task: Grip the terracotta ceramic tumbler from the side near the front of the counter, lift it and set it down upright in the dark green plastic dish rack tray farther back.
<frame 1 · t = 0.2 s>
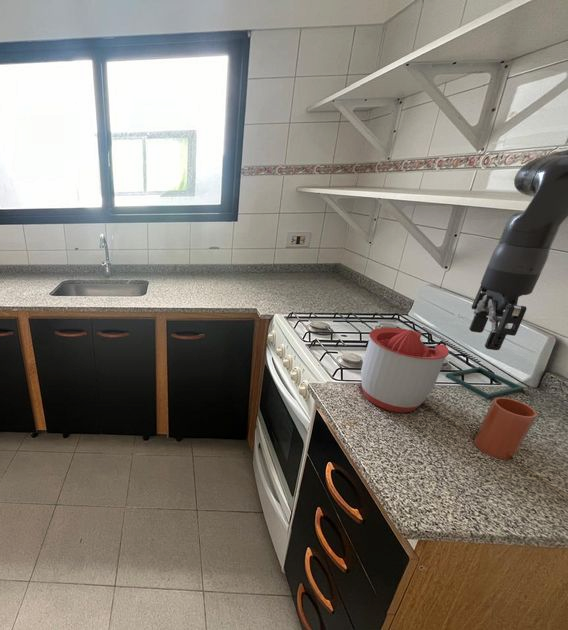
hand: (482, 339, 74), 21 cm above the counter, tool pointing down, fingers open, 8 cm apart
rack: (480, 388, 93), on the counter
citrus juicer: (390, 399, 89), on the counter
tumbler: (493, 448, 73), on the counter
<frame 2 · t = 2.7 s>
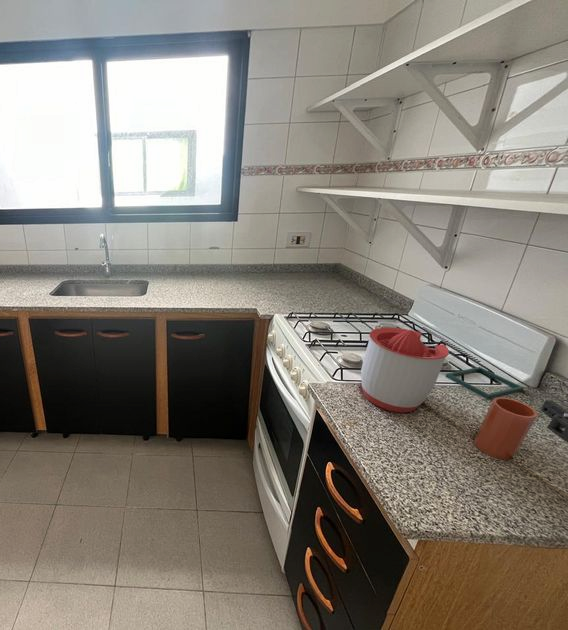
nothing on the counter moved.
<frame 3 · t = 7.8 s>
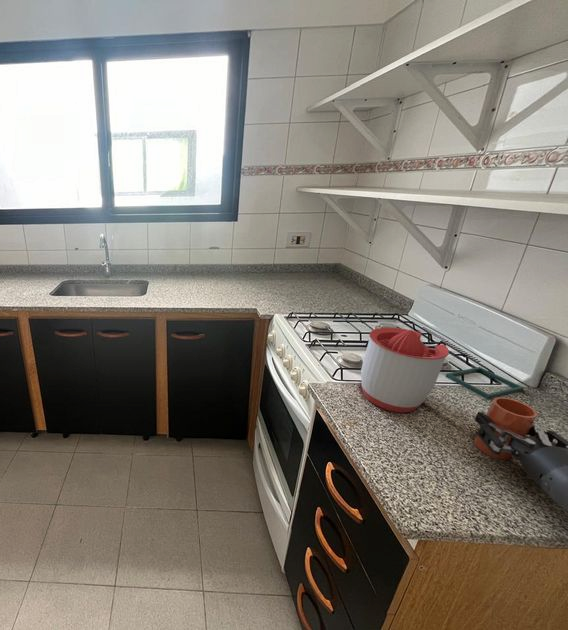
hand: (497, 417, 73), 6 cm above the counter, tool horizontal, fingers closed on tumbler, 6 cm apart
tumbler: (493, 448, 73), on the counter, touching gripper
everything else where it was.
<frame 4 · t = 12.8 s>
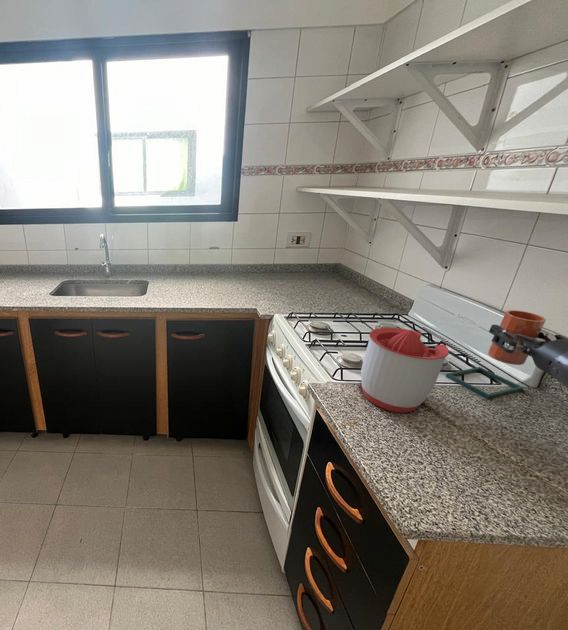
hand: (509, 329, 81), 20 cm above the counter, tool horizontal, fingers closed on tumbler, 6 cm apart
tumbler: (505, 357, 82), point 13 cm above the counter, touching gripper
everything else where it was.
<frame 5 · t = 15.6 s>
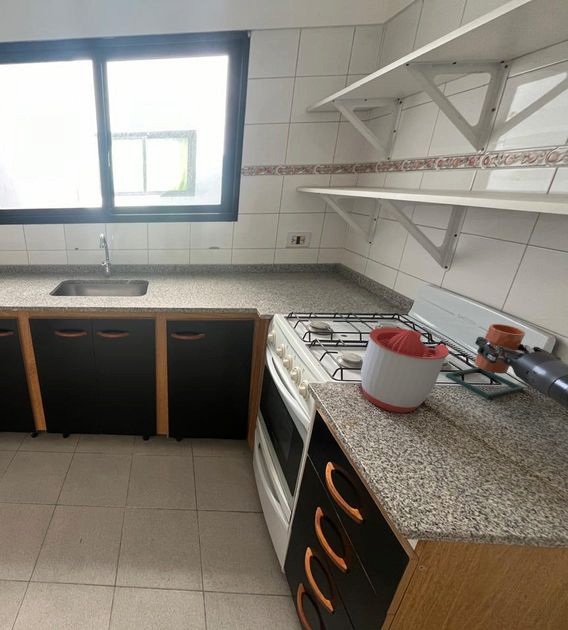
hand: (493, 341, 90), 13 cm above the counter, tool horizontal, fingers closed on tumbler, 6 cm apart
tumbler: (490, 367, 90), point 7 cm above the counter, touching gripper
everything else where it was.
when the fingers open (7 cm above the counter, at t = 17.9 s): tumbler stays where it is, resting on rack.
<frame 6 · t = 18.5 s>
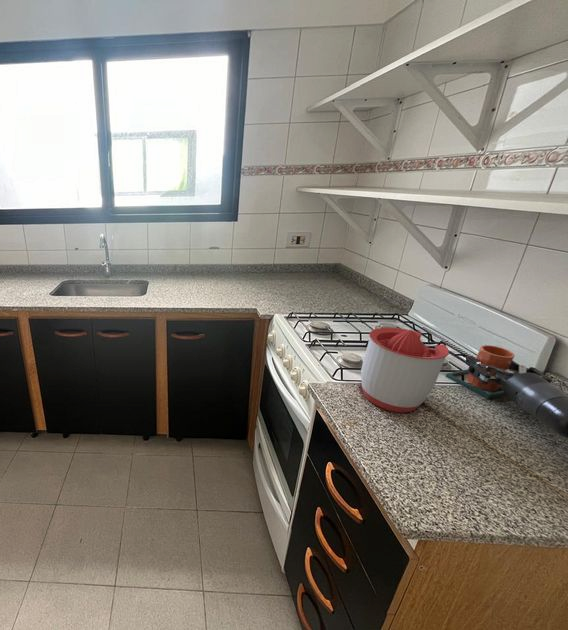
hand: (486, 359, 92), 8 cm above the counter, tool horizontal, fingers open, 8 cm apart
tumbler: (481, 386, 93), resting on rack
everything else where it was.
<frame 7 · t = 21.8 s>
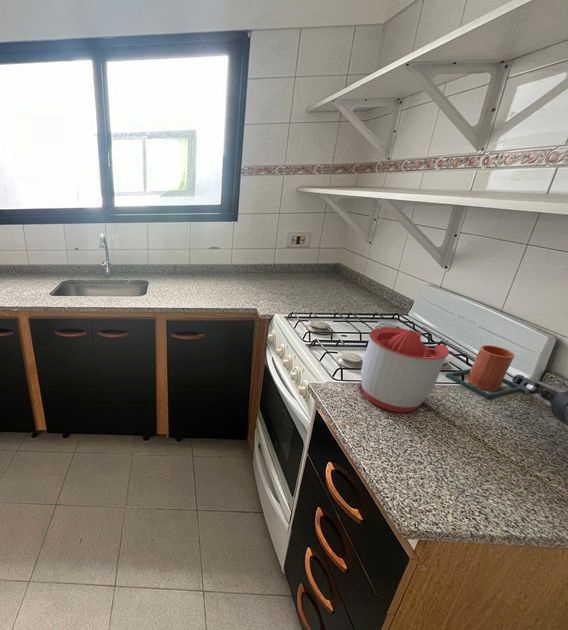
hand: (537, 387, 81), 8 cm above the counter, tool horizontal, fingers open, 8 cm apart
nothing on the counter moved.
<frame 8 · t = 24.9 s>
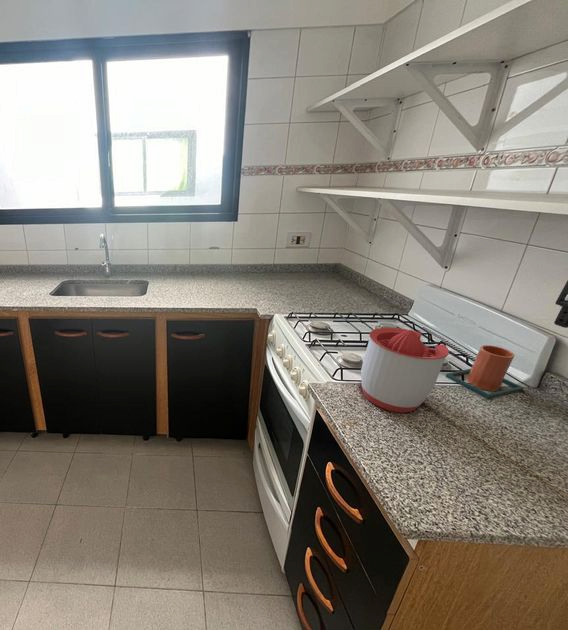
nothing on the counter moved.
at the end: tumbler 0.1 cm off-centre in the rack, point 0.5 cm above the rack's base; tumbler tilted 0°; the gripper is holding nothing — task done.
